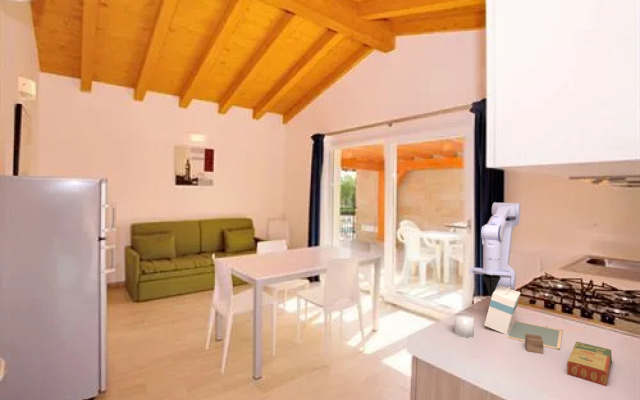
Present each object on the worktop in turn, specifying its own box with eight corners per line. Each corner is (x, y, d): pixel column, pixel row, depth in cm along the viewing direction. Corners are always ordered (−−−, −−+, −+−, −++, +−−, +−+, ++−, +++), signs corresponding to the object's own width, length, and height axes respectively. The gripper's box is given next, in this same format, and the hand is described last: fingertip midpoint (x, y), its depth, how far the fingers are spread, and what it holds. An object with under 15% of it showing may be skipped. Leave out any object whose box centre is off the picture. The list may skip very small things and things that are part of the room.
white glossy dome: (457, 328, 119) (457, 312, 119) (475, 333, 116) (475, 315, 115) (451, 334, 114) (452, 317, 114) (471, 339, 111) (471, 321, 111)
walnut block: (525, 346, 106) (525, 333, 106) (540, 348, 105) (540, 335, 105) (527, 351, 103) (527, 338, 102) (543, 354, 101) (543, 341, 101)
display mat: (515, 321, 125) (515, 320, 125) (562, 330, 117) (562, 330, 117) (507, 337, 112) (507, 337, 112) (559, 350, 103) (559, 349, 103)
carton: (566, 375, 90) (566, 359, 90) (575, 353, 102) (575, 339, 102) (607, 388, 84) (607, 371, 84) (611, 363, 96) (612, 348, 96)
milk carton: (491, 314, 128) (500, 282, 126) (512, 323, 124) (521, 289, 122) (484, 325, 119) (493, 290, 116) (506, 334, 114) (516, 298, 112)
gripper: (467, 257, 123) (467, 294, 124) (513, 262, 114) (512, 303, 115) (472, 254, 129) (472, 290, 129) (516, 259, 120) (515, 297, 120)
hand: (491, 295), depth 122 cm, fingers closed
